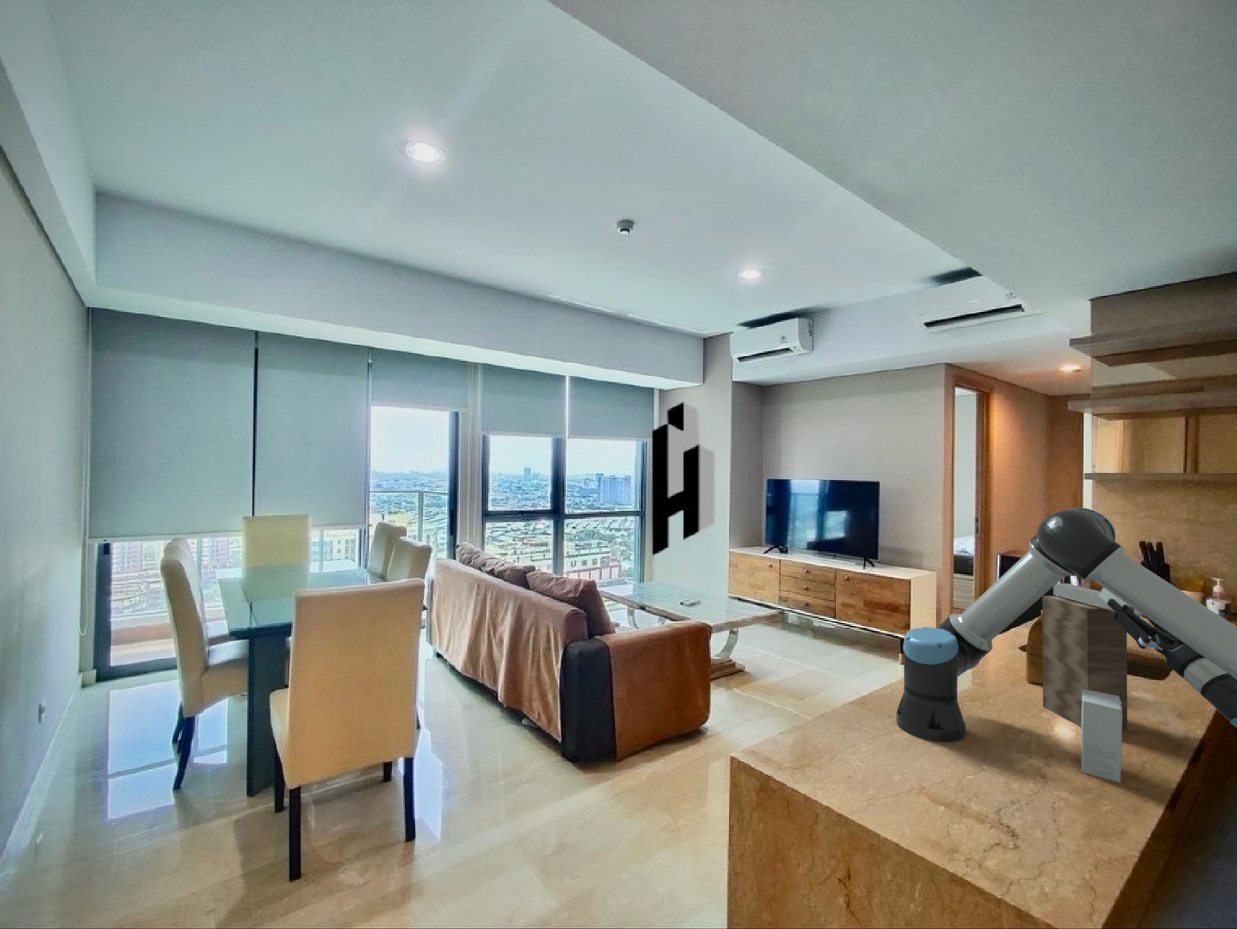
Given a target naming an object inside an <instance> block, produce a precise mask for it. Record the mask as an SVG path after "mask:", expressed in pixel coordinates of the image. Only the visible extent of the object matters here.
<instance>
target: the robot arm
mask: <svg viewBox="0 0 1237 929" xmlns="http://www.w3.org/2000/svg"><path fill="white" fill-rule="evenodd" d="M1116 534H1117V533H1116V529H1115V527H1114V525H1113V524H1112V522H1111V521H1110V520H1109V519H1108V518H1107V517H1106V516H1105V515H1104V514H1102V513H1100V512H1098V511H1096V510H1093V509H1090V508H1085V507H1071V508H1068V509H1065V510H1059V511H1055V512H1053V513H1051V514H1049V515H1047V516H1046V517H1045V518H1044V519H1042V521H1041V522H1040V523H1039V526H1038V529H1037V533H1035V534H1034V536H1033V537H1032V538H1031V539H1029V540H1028V544H1029V550H1028V552H1026V553H1025V554H1024V555H1023V556H1022V557H1021V558H1019V559H1018V561H1017V562H1016V563H1014V564H1013V565H1012V566H1011V567H1010V568H1009V569H1008V570H1007V571H1006V572H1005V573H1004V574H1003V575H1002V576H1001V577H1000V578H998V579H997V580H996V581H995V582H994V583H993V584H992V585H991V586H990V587H989V588H987V590H986V591H985V592H984V593H982V594H981V595H980V596H979V597H978V598H977V599H976V600H975V601H974V602H972V603H971V604H970V605H969V606H968V607H967V609H965V610H964V611H963V612H962V613H952V614H950V615H948V617H947V618H946V619H945V620H944V621H943V622H941V623H940V624H939V625H938V626H937V627H930V626H929V627H928V626H926V627H925V626H924V627H921V628H920V627H915V628H912V629H910V630H908V631H907V632H906V633H905V634H904V638H903V640H904V641H903V645H902V647H903V648H902V650H903V694H902V696H901V699H900V700H899V704H898V707H897V710H896V711H895V712H896V714H895V716H896V717H895V718H896V720H895V722H896V724H897V725H898V726H899V728H901V729H902V730H904V731H906V732H908V733H909V734H910V735H913V736H917V737H919V738H921V739H925V740H926V739H927V740H931V741H935V742H936V741H938V742H946V743H948V742H950V743H951V742H958V741H962V740H964V739H965V738H966V736H967V724H966V722H965V720H964V717H963V713H962V710H961V707H960V704H959V700H958V677H960V676H961V675H962V674H964V673H966V672H967V671H969V670H971V669H974V668H975V667H976V666H978V664H980V661H981V660H982V659H983V658H984V657H985V656H986V655H987V654H989V653H990V652H992V650H993V647H994V646H993V640H994V639H995V638H996V637H998V635H999V634H1001V633H1002V632H1003V631H1004V630H1005V629H1006V628H1008V627H1009V626H1010V625H1011V624H1012V623H1013V622H1014V621H1015V620H1017V619H1018V618H1019V617H1020V616H1021V615H1023V613H1025V612H1026V611H1027V610H1028V609H1029V608H1030V607H1031V606H1033V604H1035V603H1037V602H1038V600H1040V599H1041V598H1043V596H1045V595H1046V594H1047V593H1048V592H1049V591H1050V590H1051V589H1052V588H1053V586H1054V585H1056V584H1059V582H1060V581H1062V580H1063V579H1064V578H1065V577H1079V578H1080V579H1082V580H1083V581H1085V582H1094V583H1097V584H1098V585H1100V586H1101V587H1102V589H1101V591H1100V594H1099V596H1100V597H1101V598H1102V599H1103V600H1104V601H1105V602H1106V603H1107V605H1108V606H1110V607H1111V608H1112V609H1113V610H1114V611H1115V613H1114V614H1113V616H1112V618H1113V619H1114V620H1115V621H1116V622H1117V623H1118V624H1119V625H1120V626H1121V627H1122V628H1123V629H1124V630H1125V631H1126V632H1127V635H1129V636H1130V637H1131V638H1132V639H1133V641H1134V640H1135V642H1136V644H1137V646H1138V647H1139V648H1140V649H1142V650H1146V648H1152V649H1154V650H1155V651H1157V653H1160V654H1161V655H1163V656H1164V658H1165V662H1166V663H1167V666H1169V668H1171V669H1172V671H1174V672H1175V673H1176V674H1178V676H1179V677H1181V678H1183V679H1184V681H1185V682H1186V683H1187V684H1188V685H1190V686H1191V687H1192V688H1193V689H1194V690H1195V691H1197V693H1199V695H1201V696H1202V697H1203V698H1204V699H1205V700H1206V701H1207V702H1208V703H1209V704H1210V705H1212V707H1214V708H1215V709H1216V710H1217V711H1218V712H1219V713H1220V714H1221V715H1223V717H1224V718H1226V720H1228V721H1229V722H1230V724H1231V725H1232V726H1234V727H1235V728H1236V729H1237V626H1236V625H1235V624H1234V623H1232V622H1230V621H1228V620H1227V619H1225V618H1224V617H1223V616H1221V615H1219V614H1217V613H1216V612H1215V611H1213V610H1212V609H1210V608H1209V607H1207V606H1205V605H1204V604H1202V603H1200V602H1199V601H1197V600H1196V599H1194V598H1193V597H1191V596H1189V594H1187V593H1186V592H1183V591H1182V590H1181V589H1179V588H1177V587H1176V586H1174V585H1173V584H1172V583H1169V582H1168V581H1167V580H1165V579H1164V578H1162V577H1160V576H1158V575H1157V574H1155V573H1154V572H1153V571H1151V570H1150V569H1148V568H1146V567H1144V565H1142V564H1140V563H1138V562H1137V561H1136V560H1134V559H1133V558H1131V557H1129V556H1128V555H1126V553H1125V548H1124V546H1123V545H1121V544H1119V543H1117V542H1116V537H1117V536H1116ZM1122 600H1123V601H1124V602H1126V603H1127V604H1128V605H1130V606H1131V607H1133V608H1134V609H1136V610H1137V611H1139V612H1140V613H1141V614H1143V615H1144V616H1146V617H1139V616H1137V615H1136V614H1134V613H1133V612H1132V611H1130V610H1129V609H1127V608H1128V605H1126V604H1125V603H1124V602H1123V601H1122ZM1144 619H1146V620H1148V622H1149V623H1148V622H1147V621H1146V620H1144Z"/></svg>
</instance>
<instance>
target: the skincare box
mask: <svg viewBox="0 0 1237 929" xmlns="http://www.w3.org/2000/svg"><path fill="white" fill-rule="evenodd" d="M1121 704H1122V702H1121V701H1120V698H1119V696H1116V695H1111V694H1106V693H1101V692H1096V691H1091V690H1086V689H1082V716H1081V727H1080V729H1081V730H1080V731H1081V732H1080V736H1081V737H1080V742H1081V743H1080V764H1081V773H1082V774H1085V775H1090V776H1093V777H1096V778H1101V779H1105V780H1108V781H1110V782H1111V781H1113V782H1115V783H1119V784H1120V783H1121V779H1122V778H1121V777H1122V776H1121V774H1122V772H1121V770H1122V768H1121V767H1122V750H1123V749H1122V748H1123V747H1122V746H1123V744H1122V743H1123V742H1122V741H1123V740H1122V739H1123V730H1122V707H1121Z"/></svg>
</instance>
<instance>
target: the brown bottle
mask: <svg viewBox="0 0 1237 929" xmlns="http://www.w3.org/2000/svg"><path fill="white" fill-rule="evenodd" d="M1040 613H1041V614H1040V616H1039V617H1038V618H1037V619H1036V620H1035V621H1034V622H1033V623H1032V624H1031V626H1030V628H1029V630H1028V635H1027V642H1026V647H1025V649H1026V650H1025V654H1026V655H1025V656H1026V658H1025V660H1026V661H1025V681H1026V682H1028V683H1033V684H1039V685H1043V609H1041V610H1040Z"/></svg>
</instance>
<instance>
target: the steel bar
mask: <svg viewBox="0 0 1237 929" xmlns="http://www.w3.org/2000/svg"><path fill="white" fill-rule="evenodd" d="M1052 588H1053V591H1052V592H1053V595H1052V596H1060V597H1064V598H1068V599H1071V600H1075V601H1078V602H1082V603H1086V604H1089V605H1093V606H1097V607H1100V608H1104V609H1107V610H1111V611H1114V610H1113V609H1112V608H1111V607H1110V606H1108V605H1107V603H1106V602H1105V601H1104V600H1103V599H1102V598H1101V597H1100V596H1099V594H1100V592H1101V591H1100V590H1096V589H1091V588H1087V587H1084V586H1080V585H1075V584H1073V583H1057V584H1056V585H1054V586H1053V587H1052ZM1122 601H1123V600H1122ZM1123 602H1124V601H1123ZM1124 603H1125V604H1126V605H1128V604H1127V603H1126V602H1124ZM1127 609H1129V610H1130V611H1132V612H1133V613H1134V614H1136V615H1137V616H1139V617H1140V618H1143V617H1146V616H1144V615H1143V614H1141V613H1140V612H1139V611H1137V610H1136V609H1134V608H1133V607H1131V606H1130V605H1128V608H1127Z"/></svg>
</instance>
